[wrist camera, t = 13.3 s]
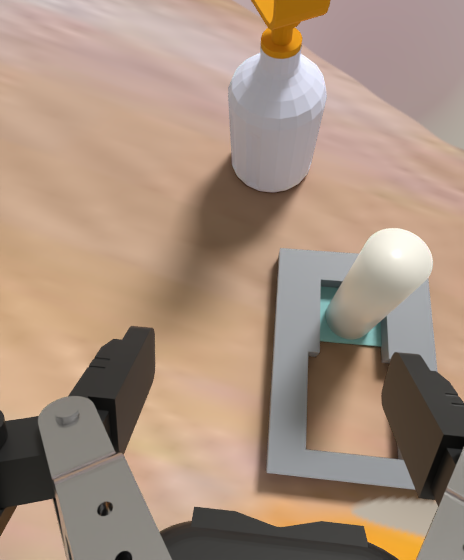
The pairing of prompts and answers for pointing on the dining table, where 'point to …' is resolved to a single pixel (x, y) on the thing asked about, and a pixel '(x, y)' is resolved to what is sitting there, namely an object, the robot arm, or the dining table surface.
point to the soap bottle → (277, 101)
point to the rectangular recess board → (306, 342)
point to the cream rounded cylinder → (378, 281)
